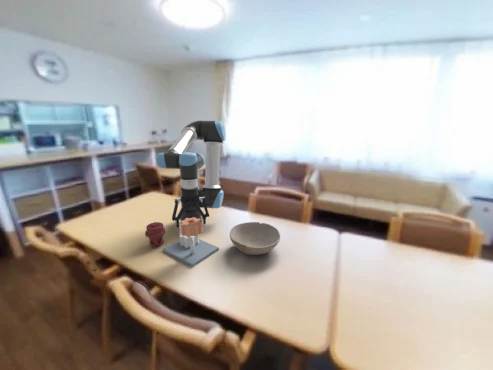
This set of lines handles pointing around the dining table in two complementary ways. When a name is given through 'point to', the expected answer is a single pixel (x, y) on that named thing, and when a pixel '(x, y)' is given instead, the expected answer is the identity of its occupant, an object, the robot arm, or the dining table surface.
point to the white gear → (188, 240)
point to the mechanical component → (155, 233)
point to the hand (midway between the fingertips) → (191, 231)
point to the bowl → (254, 237)
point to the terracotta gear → (191, 227)
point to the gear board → (186, 255)
